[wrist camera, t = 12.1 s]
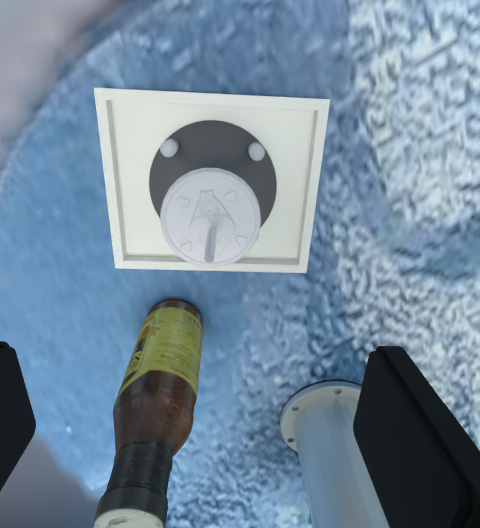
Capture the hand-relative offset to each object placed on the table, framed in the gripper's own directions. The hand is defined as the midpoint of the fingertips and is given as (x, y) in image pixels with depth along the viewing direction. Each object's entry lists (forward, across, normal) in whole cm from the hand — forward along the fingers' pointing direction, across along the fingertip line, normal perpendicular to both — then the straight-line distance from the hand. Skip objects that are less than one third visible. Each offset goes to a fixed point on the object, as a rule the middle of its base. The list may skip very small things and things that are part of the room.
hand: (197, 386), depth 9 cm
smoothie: (+23, 0, 0) cm, 23 cm away
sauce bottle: (+25, +5, +14) cm, 29 cm away
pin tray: (+24, 0, 0) cm, 24 cm away
